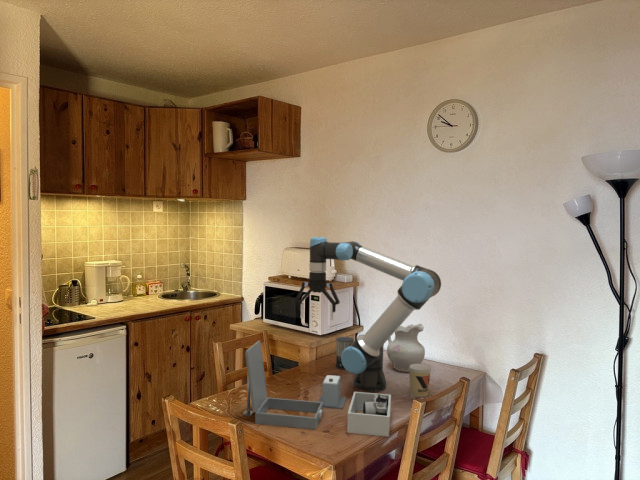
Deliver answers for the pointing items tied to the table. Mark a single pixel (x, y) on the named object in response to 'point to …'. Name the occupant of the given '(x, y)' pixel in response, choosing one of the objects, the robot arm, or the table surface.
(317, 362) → the table surface
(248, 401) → the stay rod
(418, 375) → the coffee cup
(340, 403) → the mat
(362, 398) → the crate
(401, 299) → the robot arm
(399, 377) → the table surface
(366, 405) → the camera
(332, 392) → the block
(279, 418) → the case
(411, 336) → the ceramic pitcher
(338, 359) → the milk frother
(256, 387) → the lid
